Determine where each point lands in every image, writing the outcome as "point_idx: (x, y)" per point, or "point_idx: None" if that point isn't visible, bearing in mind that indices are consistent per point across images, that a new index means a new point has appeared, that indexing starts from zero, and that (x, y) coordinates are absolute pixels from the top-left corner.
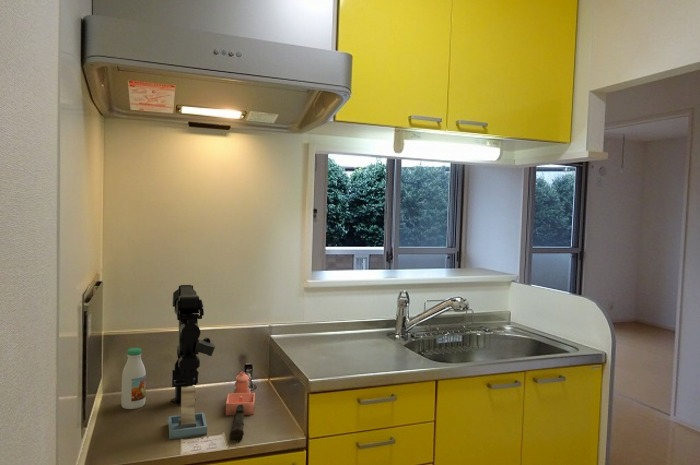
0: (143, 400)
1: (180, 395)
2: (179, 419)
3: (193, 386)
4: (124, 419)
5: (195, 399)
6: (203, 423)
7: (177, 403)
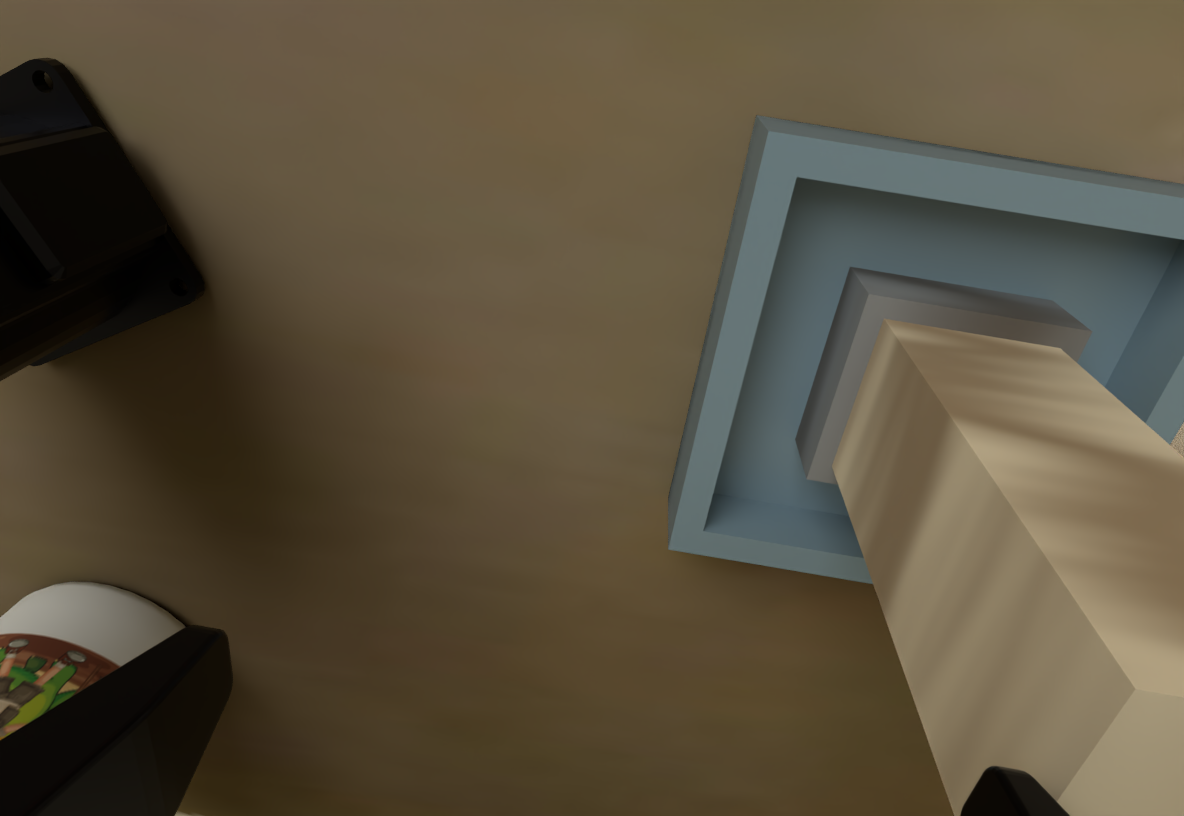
0: (122, 641)
1: (75, 321)
2: (829, 477)
3: (1171, 722)
4: (411, 742)
5: (57, 71)
6: (1109, 224)
7: (154, 317)
